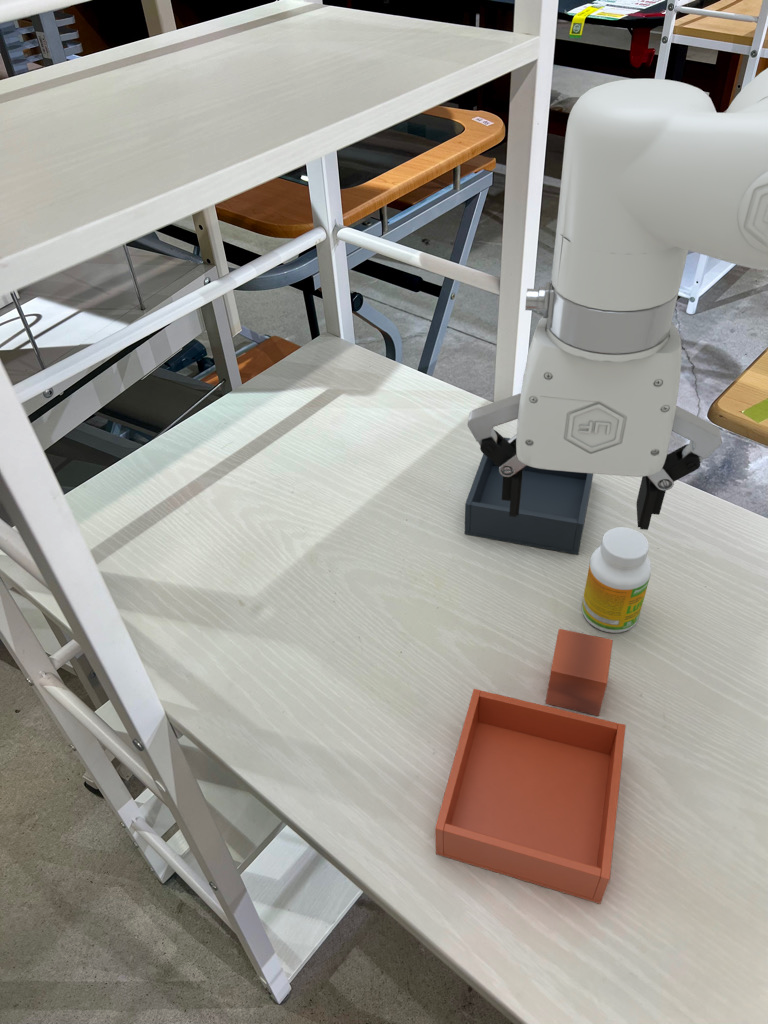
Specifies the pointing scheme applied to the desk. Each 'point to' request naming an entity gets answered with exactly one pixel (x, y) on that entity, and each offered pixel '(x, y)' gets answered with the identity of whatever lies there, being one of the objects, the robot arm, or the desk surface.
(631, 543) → the supplement bottle
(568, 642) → the terracotta block
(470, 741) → the terracotta bin
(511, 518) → the slate bin
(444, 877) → the desk surface
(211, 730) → the desk surface
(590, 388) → the robot arm
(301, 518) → the desk surface
